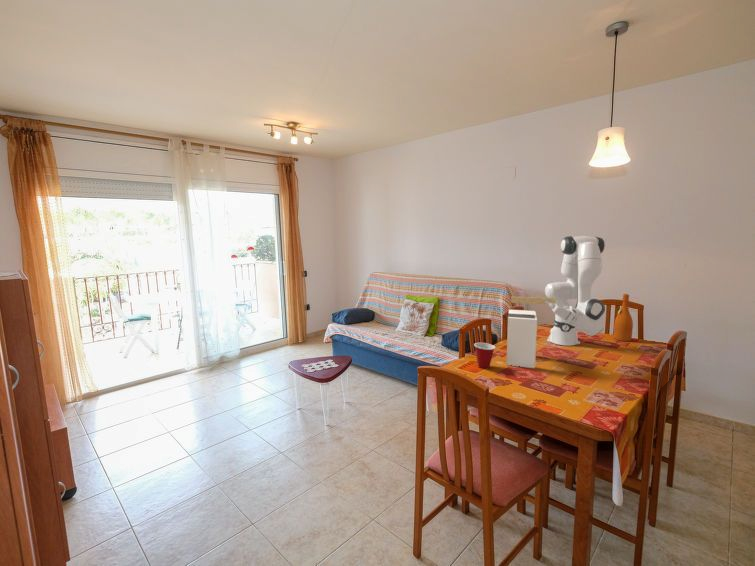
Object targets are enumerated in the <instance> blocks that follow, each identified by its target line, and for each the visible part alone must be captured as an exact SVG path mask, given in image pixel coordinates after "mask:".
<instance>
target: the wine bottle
mask: <svg viewBox="0 0 755 566" xmlns="http://www.w3.org/2000/svg"><path fill="white" fill-rule="evenodd" d="M629 297H630V295H629V294H628V293H623V294H622V300H621V301H622V306H621V308H619V310H618V311H617V315H616V317H615V321H614V324H613V339H614V340H616V341H619V340H620V342H630V341H632V338H633V329H634V322H633V318H632V315H631V313H630V311H629V310H630V309H629V301H630V298H629Z"/></svg>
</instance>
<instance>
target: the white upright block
mask: <svg viewBox="0 0 755 566" xmlns="http://www.w3.org/2000/svg"><path fill="white" fill-rule="evenodd" d="M507 314H508V315H507V339H506V362H505V363H506V364H505V365H506V366H510V365H512V367H519V366H520V367H521V368H528V369H536V355H537V354H536V352H537V351H536V350H537V333H538V332H537V331H538V328H537V327H538V317H537V313H536V311H535V310H523V309H522V310H521V309H508V313H507Z"/></svg>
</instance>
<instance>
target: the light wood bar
mask: <svg viewBox="0 0 755 566" xmlns="http://www.w3.org/2000/svg"><path fill="white" fill-rule="evenodd" d="M545 300H548V301H549V302H551V303H553V304H555V303H556V298H548V297H536V296H515V295H513V296H512V295H511V296H510V303H512V304H513V303H515V304H528V305H529V304H531V305H532V304H533V305H547V304H546V303H545Z"/></svg>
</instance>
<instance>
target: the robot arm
mask: <svg viewBox="0 0 755 566" xmlns="http://www.w3.org/2000/svg"><path fill="white" fill-rule="evenodd" d="M560 250H561V253H562V254H564V255H563V258H562V263H561V266H560V267H561V268H560V273H561V275H562V277H563V276H564V277H565V278H566V279H567V280H566V281H555V282H550V283H548V284H547V285H546V286H545V288H544V293H545V296H546V298H556V303H555V304H553V303H551V302H549V301H548V300H545V303H546V304H545V305H547V306H549V307H550V308H551V310H552V312H553V313H554V315H555V318H554V320H553V327H552V328H551V329H550V330H549V333H550V334H549V335H548V337H547V340H546V341H547V342H550V343H553V344H556V345H561V346H567V347H569V346H575V345H580V344H581V342H580V341H579V340H578V337H579V336H578V335H579V334H578V331H580V332H582V333H584V334H585V335H588V336H592V337H594V336H597V335H599V334H600V333H601V332H602V331H603V330H604V328H605V325H604V314H605V312H606V306H605V304H604V303H603V302H602V301H601V300H599V299H597V298H591V292H592V291H591V290H592V286H593V284H594V282H595V281H596V280H597V279H598V277H599V276H600V275H601V273H602V268H603V262H602V261H603V260H602V253H603V252H604V250H605V240H604V239H603V238H602V237H598V236H588V235H578V236H577V235H576V236H572V235H570V236H565V237H563V239H562V240H561V243H560ZM568 300H576V305H575V306H574V305H570V304H569V303H568Z"/></svg>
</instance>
